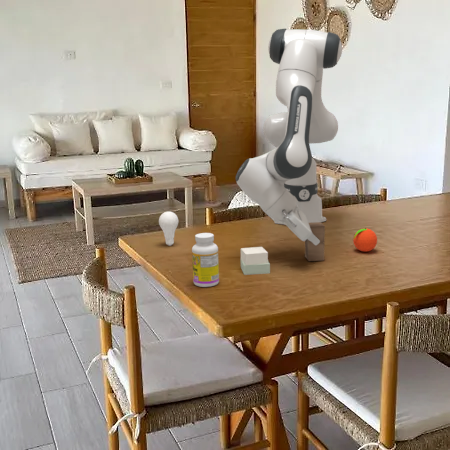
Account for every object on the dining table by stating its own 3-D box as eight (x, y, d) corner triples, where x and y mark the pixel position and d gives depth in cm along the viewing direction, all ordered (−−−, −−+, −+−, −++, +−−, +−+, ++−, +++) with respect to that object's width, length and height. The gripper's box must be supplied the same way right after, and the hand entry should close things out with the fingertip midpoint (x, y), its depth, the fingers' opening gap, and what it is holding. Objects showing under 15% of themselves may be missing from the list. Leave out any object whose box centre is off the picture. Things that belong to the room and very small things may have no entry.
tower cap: (240, 258, 163) (240, 248, 162) (261, 257, 164) (261, 246, 164) (246, 265, 157) (245, 254, 157) (267, 263, 159) (267, 252, 158)
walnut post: (304, 256, 171) (305, 222, 169) (320, 255, 172) (320, 222, 169) (308, 261, 167) (308, 226, 165) (324, 260, 167) (324, 225, 165)
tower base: (240, 268, 165) (240, 258, 164) (265, 266, 165) (265, 256, 165) (244, 276, 158) (243, 265, 157) (270, 274, 159) (269, 263, 158)
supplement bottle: (192, 279, 155) (190, 232, 152) (218, 278, 155) (216, 231, 152) (193, 288, 148) (191, 239, 145) (220, 287, 149) (218, 237, 146)
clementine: (362, 256, 171) (362, 232, 169) (345, 251, 176) (345, 228, 175) (381, 251, 175) (382, 228, 173) (364, 246, 180) (365, 224, 179)
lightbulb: (183, 243, 189) (181, 210, 187) (173, 249, 184) (171, 214, 181) (166, 242, 192) (164, 209, 189) (156, 247, 186) (154, 213, 184)
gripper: (292, 207, 155) (329, 242, 157) (287, 192, 175) (320, 223, 177) (275, 223, 157) (312, 258, 159) (272, 207, 177) (305, 238, 178)
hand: (316, 240), depth 168 cm, fingers closed on walnut post, 5 cm apart
